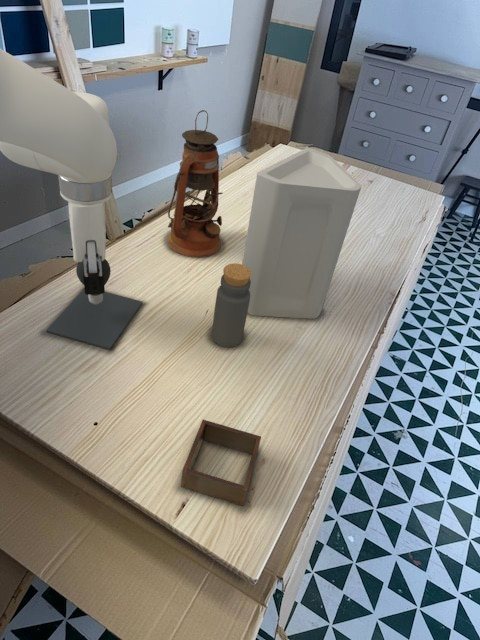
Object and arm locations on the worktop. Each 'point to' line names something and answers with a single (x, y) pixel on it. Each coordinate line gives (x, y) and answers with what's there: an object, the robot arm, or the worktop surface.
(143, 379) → the worktop surface
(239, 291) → the bottle
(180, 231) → the lantern
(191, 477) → the crate
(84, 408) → the worktop surface
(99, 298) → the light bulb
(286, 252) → the triangular concrete planter
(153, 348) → the worktop surface
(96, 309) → the mat
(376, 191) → the worktop surface
